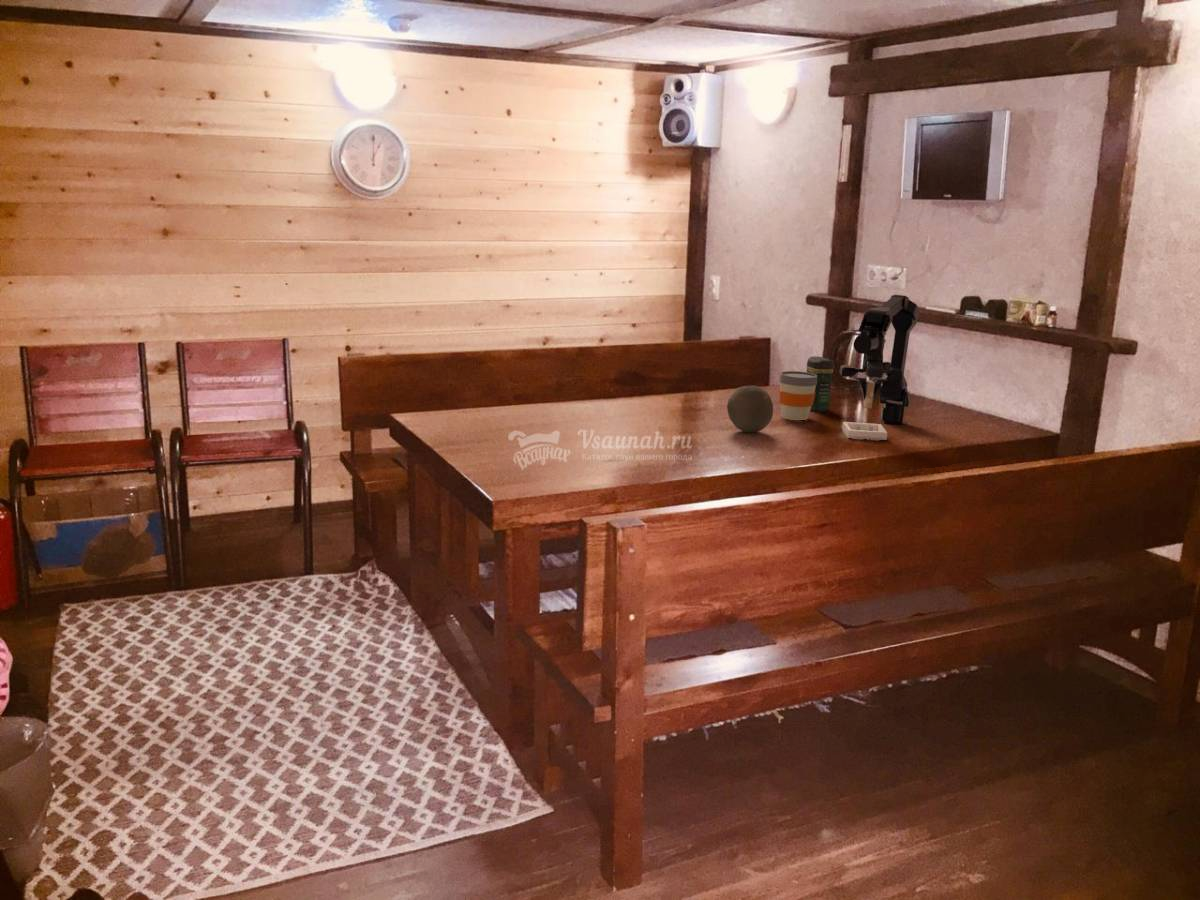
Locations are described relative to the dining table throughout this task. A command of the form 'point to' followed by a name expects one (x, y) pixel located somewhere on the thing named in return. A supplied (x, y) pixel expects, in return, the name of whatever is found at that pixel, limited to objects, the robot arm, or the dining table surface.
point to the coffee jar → (821, 381)
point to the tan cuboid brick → (869, 394)
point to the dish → (864, 431)
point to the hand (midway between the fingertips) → (868, 399)
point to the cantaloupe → (750, 408)
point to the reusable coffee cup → (796, 394)
